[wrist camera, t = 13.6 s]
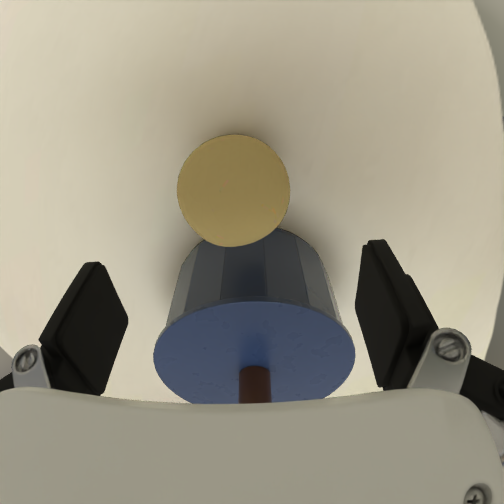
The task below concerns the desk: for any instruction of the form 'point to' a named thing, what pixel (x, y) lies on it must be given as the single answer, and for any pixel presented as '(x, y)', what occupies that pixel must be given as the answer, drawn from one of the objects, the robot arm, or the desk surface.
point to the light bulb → (233, 190)
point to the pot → (254, 274)
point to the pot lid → (254, 352)
